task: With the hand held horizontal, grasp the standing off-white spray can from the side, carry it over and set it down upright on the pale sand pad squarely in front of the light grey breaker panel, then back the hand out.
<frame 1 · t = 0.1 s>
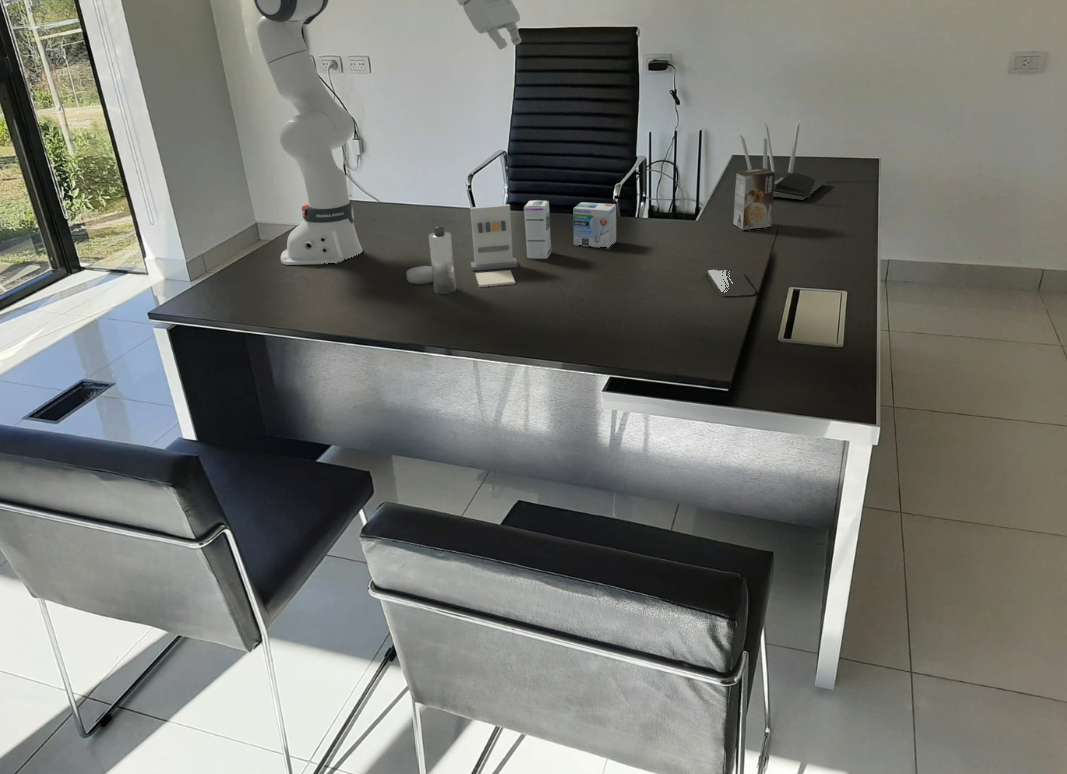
hand: (511, 45, 196), 54 cm above the table, tool tilted 30°, fingers open, 8 cm apart
coffee box: (751, 227, 245), on the table
syrup box: (539, 256, 230), on the table
wireless router: (781, 191, 279), on the table
breaker panel: (494, 266, 223), on the table
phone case: (730, 286, 204), on the table
grey hockey puck: (422, 278, 217), on the table
pad: (495, 279, 214), on the table
spray can: (445, 290, 208), on the table
light bulb box: (595, 244, 237), on the table
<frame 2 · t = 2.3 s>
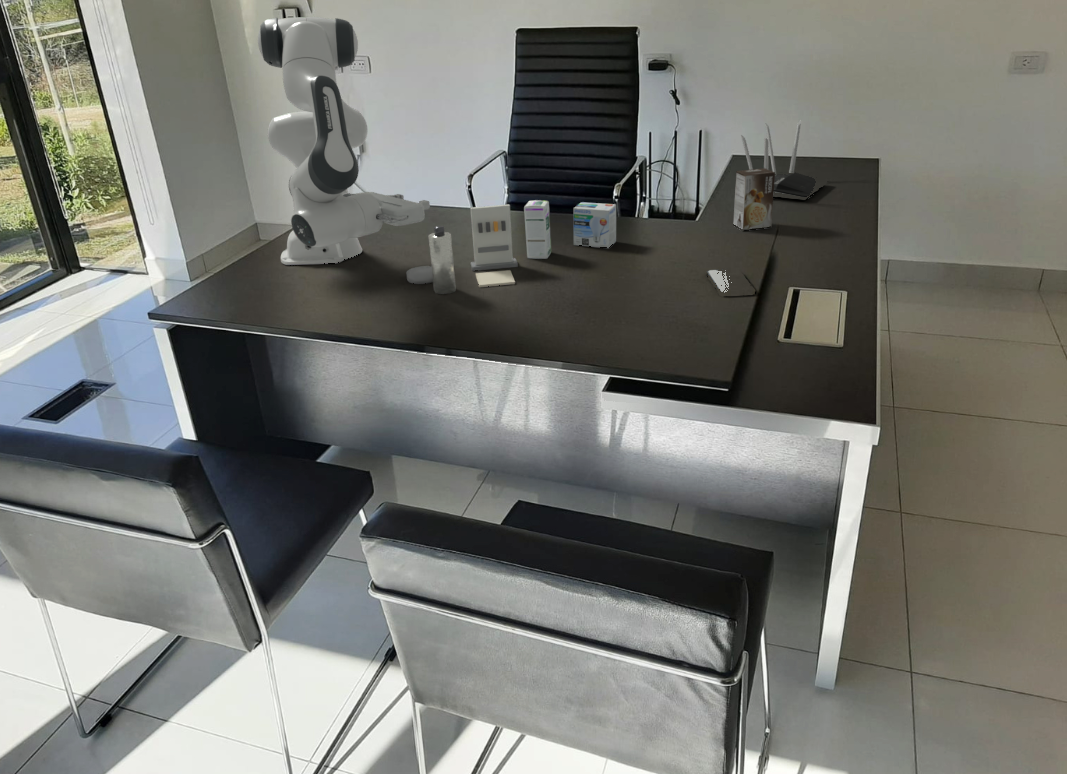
hand: (414, 200, 192), 24 cm above the table, tool horizontal, fingers open, 8 cm apart
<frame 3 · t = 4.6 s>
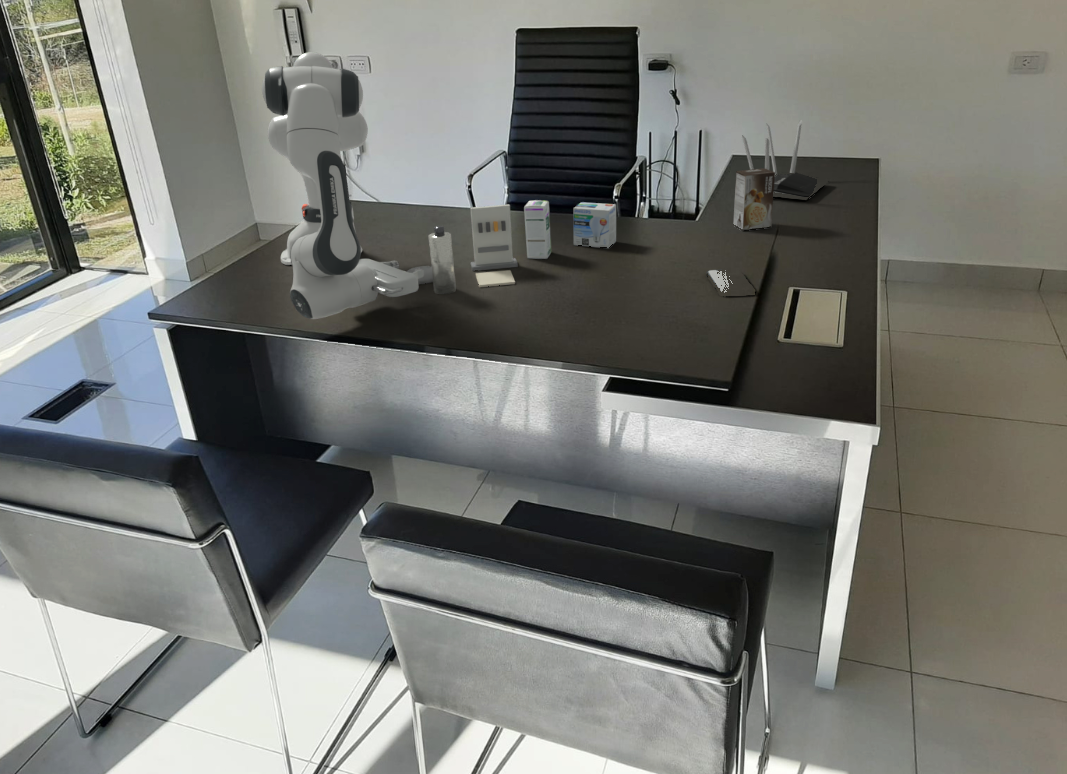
hand: (409, 268, 199), 8 cm above the table, tool horizontal, fingers open, 8 cm apart
nothing on the table moved.
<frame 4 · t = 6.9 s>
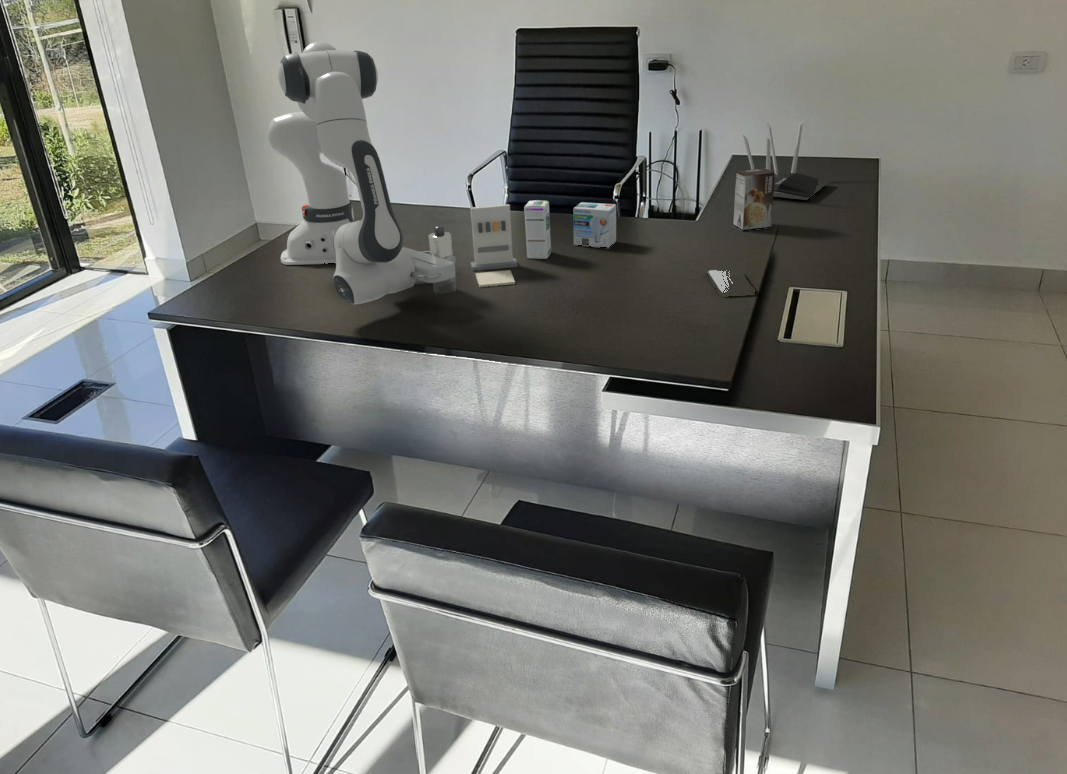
hand: (444, 256, 205), 9 cm above the table, tool horizontal, fingers closed on spray can, 5 cm apart
spray can: (445, 290, 208), on the table, touching gripper
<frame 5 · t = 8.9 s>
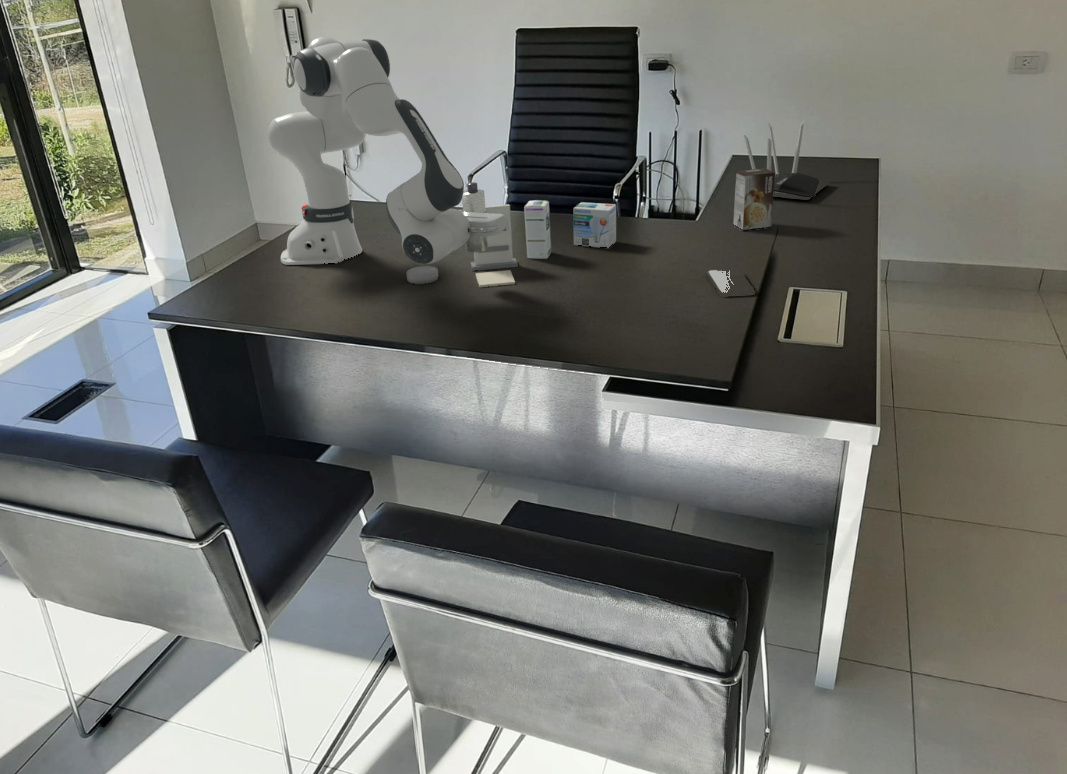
hand: (476, 213, 204), 18 cm above the table, tool horizontal, fingers closed on spray can, 5 cm apart
spray can: (477, 248, 207), point 9 cm above the table, touching gripper
when the fingers open (10 cm above the table, at t = 11.0 s): spray can stays where it is, resting on pad.
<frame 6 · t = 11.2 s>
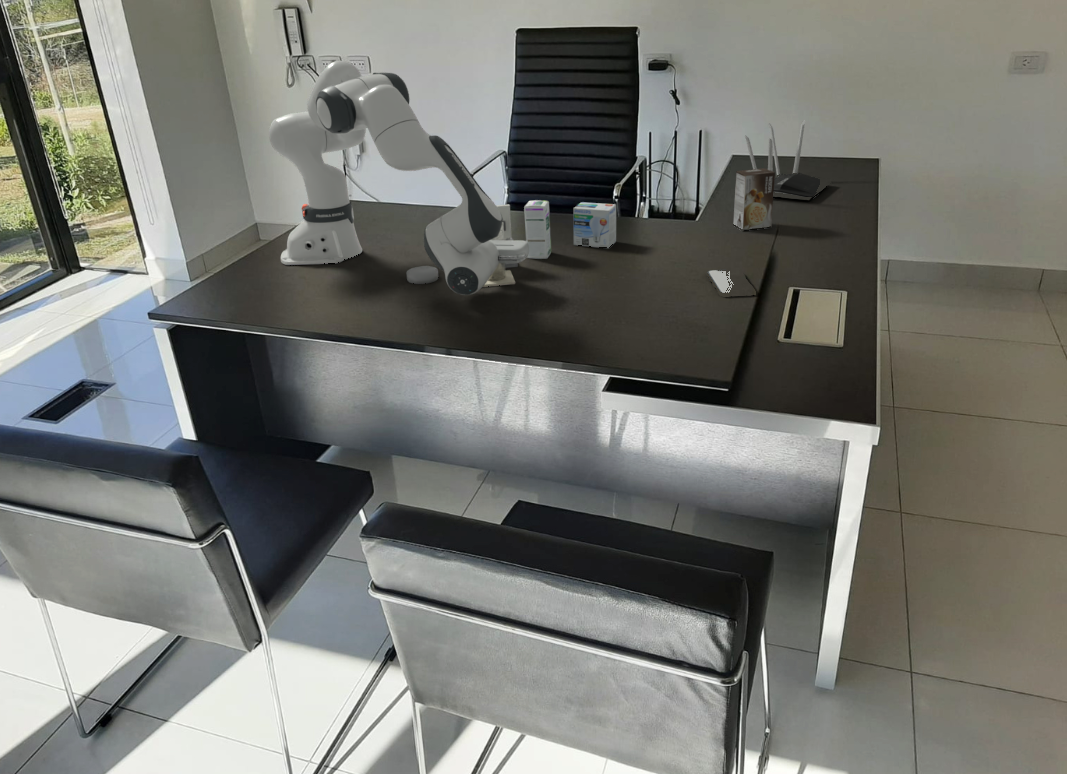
hand: (493, 240, 210), 10 cm above the table, tool horizontal, fingers open, 7 cm apart
spray can: (494, 277, 213), point 1 cm above the table, touching pad
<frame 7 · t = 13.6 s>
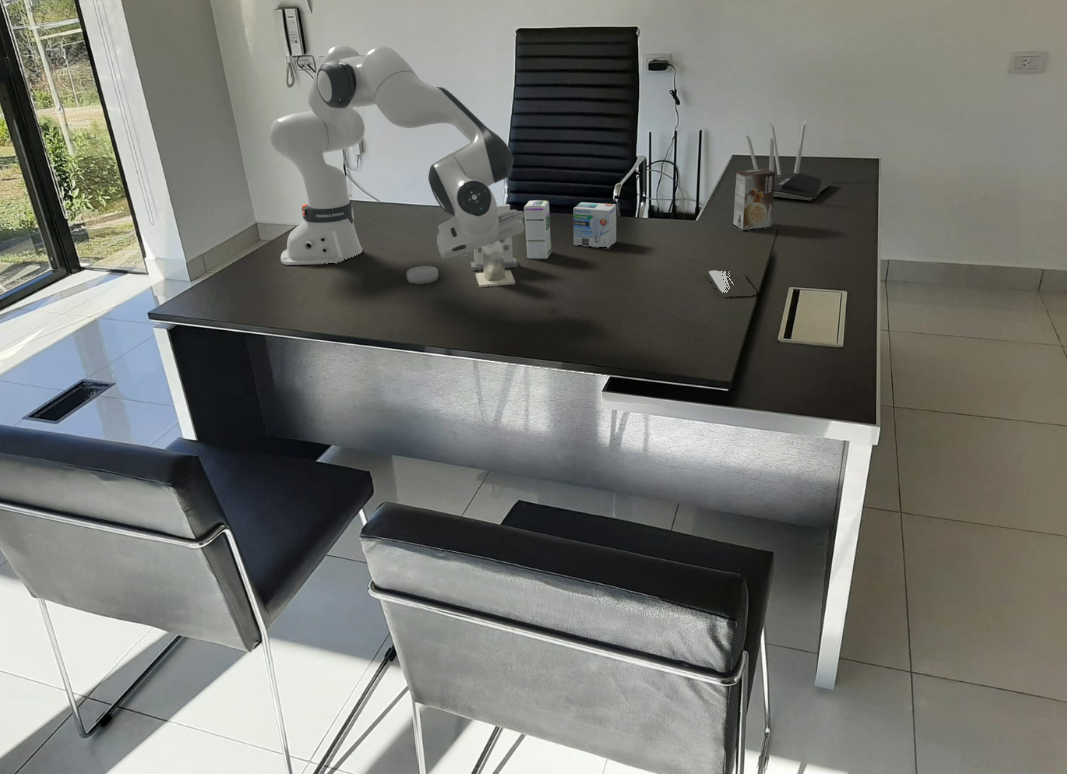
hand: (482, 246, 199), 12 cm above the table, tool tilted 55°, fingers open, 8 cm apart
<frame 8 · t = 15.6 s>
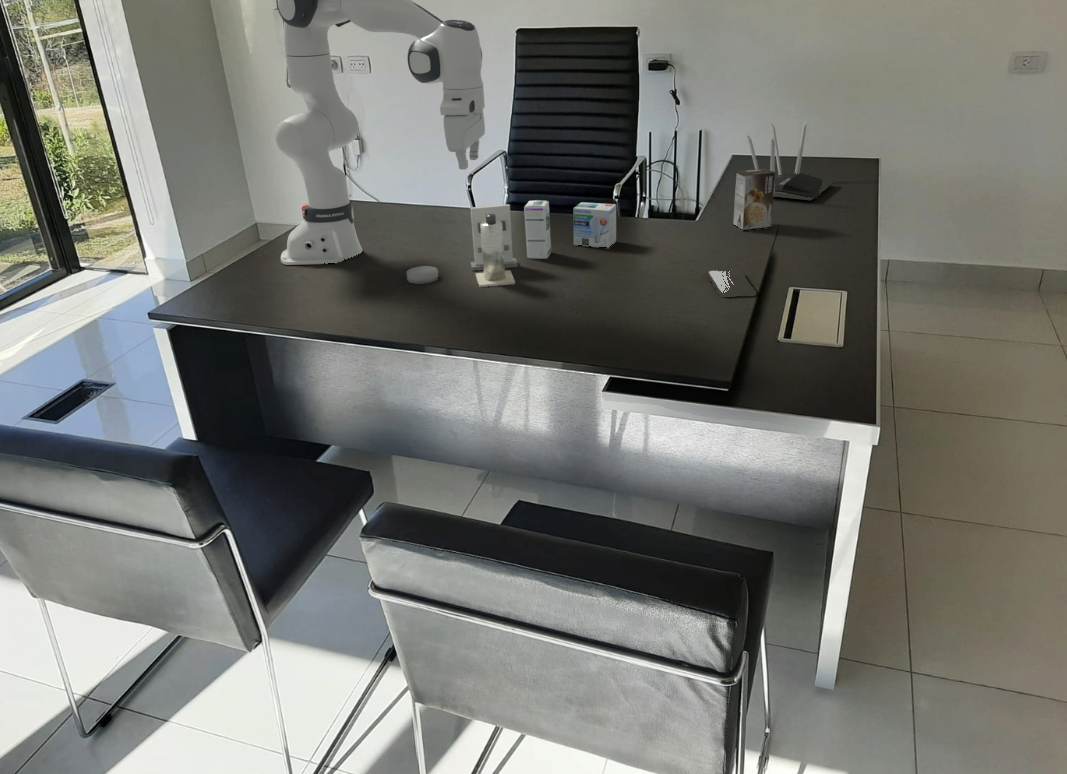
hand: (469, 164, 192), 31 cm above the table, tool pointing down, fingers open, 8 cm apart
at the end: spray can inside the target area on the pad (0.1 cm from its centre), point 0.6 cm above the pad's base; spray can tilted 1°; the gripper is holding nothing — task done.
